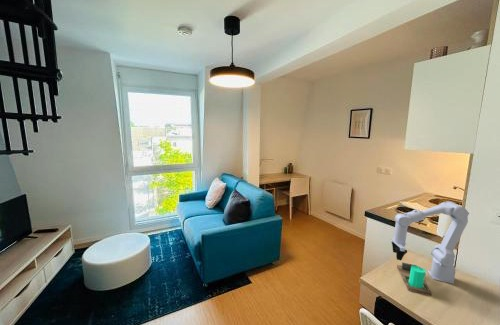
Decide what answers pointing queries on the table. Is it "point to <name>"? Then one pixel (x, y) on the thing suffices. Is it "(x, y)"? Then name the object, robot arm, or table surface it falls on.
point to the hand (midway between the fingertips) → (397, 255)
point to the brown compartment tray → (405, 275)
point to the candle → (417, 277)
